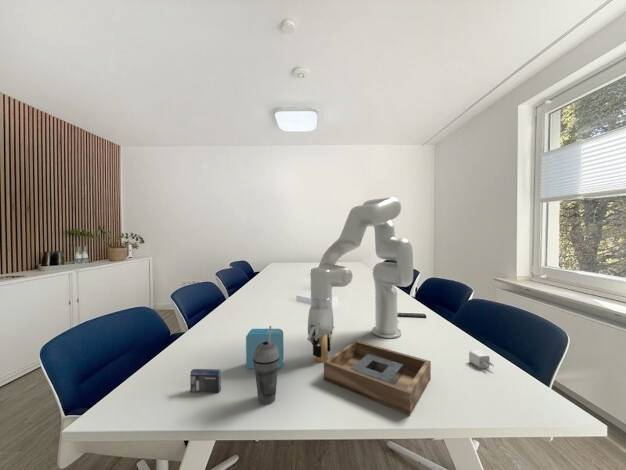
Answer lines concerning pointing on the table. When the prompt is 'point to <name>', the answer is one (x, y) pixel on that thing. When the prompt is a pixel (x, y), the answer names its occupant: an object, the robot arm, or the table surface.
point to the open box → (393, 396)
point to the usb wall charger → (479, 359)
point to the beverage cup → (266, 370)
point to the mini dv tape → (205, 380)
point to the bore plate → (379, 368)
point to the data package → (257, 338)
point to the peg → (323, 349)
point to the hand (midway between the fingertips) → (321, 352)
